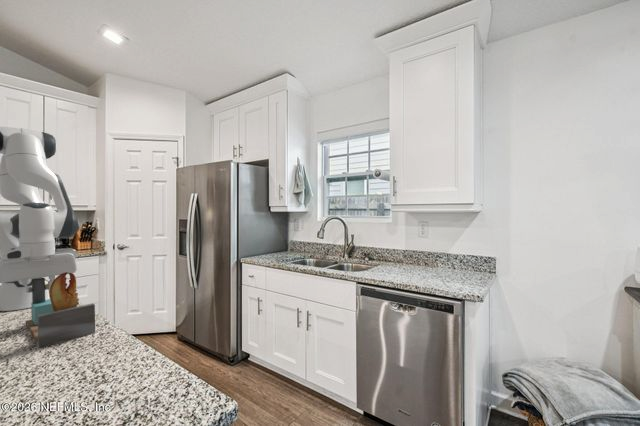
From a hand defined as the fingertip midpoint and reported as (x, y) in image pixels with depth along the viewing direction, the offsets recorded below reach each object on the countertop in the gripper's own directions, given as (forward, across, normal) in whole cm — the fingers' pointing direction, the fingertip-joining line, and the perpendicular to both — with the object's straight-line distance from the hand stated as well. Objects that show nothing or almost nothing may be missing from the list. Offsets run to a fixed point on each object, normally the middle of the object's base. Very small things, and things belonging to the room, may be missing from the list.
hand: (38, 290), depth 100 cm
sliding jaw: (+10, -4, +2) cm, 11 cm away
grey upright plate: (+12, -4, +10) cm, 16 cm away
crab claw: (+12, -4, +18) cm, 22 cm away
